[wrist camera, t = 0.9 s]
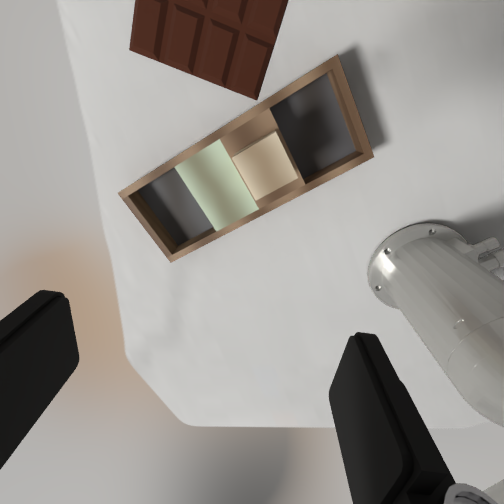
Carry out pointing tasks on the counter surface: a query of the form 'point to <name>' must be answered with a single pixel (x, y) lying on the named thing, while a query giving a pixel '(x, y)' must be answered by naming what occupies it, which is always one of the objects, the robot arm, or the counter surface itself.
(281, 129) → the box
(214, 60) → the chocolate bar
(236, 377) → the counter surface
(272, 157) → the block
